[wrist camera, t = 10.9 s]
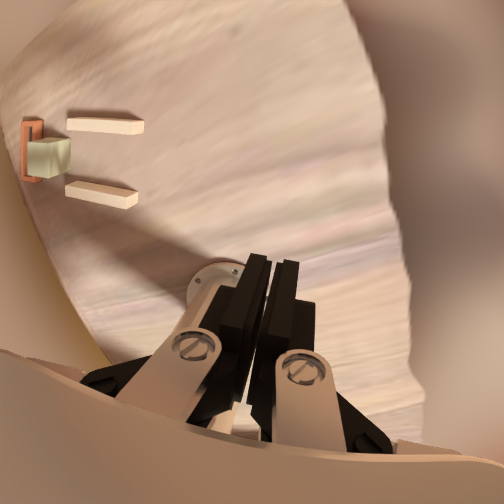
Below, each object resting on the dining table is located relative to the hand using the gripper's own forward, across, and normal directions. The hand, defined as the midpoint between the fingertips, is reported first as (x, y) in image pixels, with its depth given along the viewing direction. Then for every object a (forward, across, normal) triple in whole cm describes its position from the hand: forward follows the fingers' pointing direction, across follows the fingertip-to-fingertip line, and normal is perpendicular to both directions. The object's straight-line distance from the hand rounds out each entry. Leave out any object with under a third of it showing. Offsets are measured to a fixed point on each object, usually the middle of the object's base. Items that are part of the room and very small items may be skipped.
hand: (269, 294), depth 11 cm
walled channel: (+27, +26, +2) cm, 37 cm away
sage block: (+27, +36, +1) cm, 44 cm away
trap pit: (+27, +42, +1) cm, 49 cm away
